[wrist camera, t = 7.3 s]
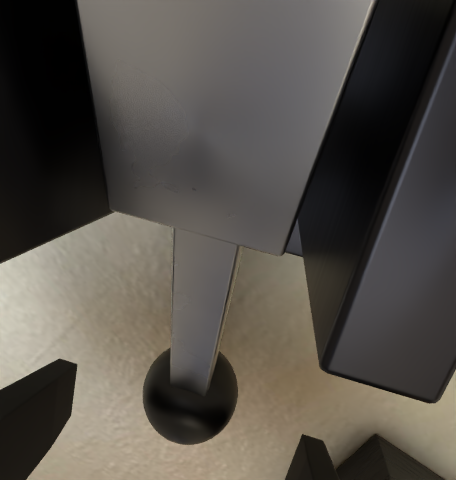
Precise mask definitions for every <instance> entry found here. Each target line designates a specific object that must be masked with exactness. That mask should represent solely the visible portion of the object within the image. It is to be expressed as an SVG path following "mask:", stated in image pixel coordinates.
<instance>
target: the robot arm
mask: <svg viewBox="0 0 456 480" xmlns="http://www.w3.org/2000/svg"><path fill="white" fill-rule="evenodd" d="M76 371H77V364H75V363H72V362H69V361H66V360H62V359H58V360H56V361H54V362H52V363H50V364H48V365H46V366H44V367H43V368H41V369H39V370H37V371H35V372H33V373H31V374H29V375H28V376H26V377H24V378H22V379H20V380H18V381H16V382H15V383H13V384H11V385H9V386H7V387H5V388H3V389H1V390H0V480H26V479H27V478H28V476H29V475H30V474H31V473H32V471H33V470H34V469H35V467H36V466H37V465H38V464H39V462H40V461H41V460H42V458H43V457H44V456H45V455H46V453H47V452H48V451H49V449H50V448H51V447H52V445H53V444H54V442H55V440H56V439H57V437H58V436H59V434H60V433H61V431H62V429H63V428H64V426H65V424H66V423H67V421H68V419H69V418H70V416H71V412H72V404H73V396H74V388H75V380H76ZM285 480H340V479H339V477H338V475H337V472H336V470H335V468H334V465H333V463H332V461H331V458H330V456H329V454H328V451H327V449H326V446H325V444H324V442H323V441H322V440H319V439H316V438H313V437H310V436H306V435H303V434H302V436H301V439H300V442H299V444H298V447H297V449H296V452H295V455H294V457H293V460H292V462H291V465H290V468H289V470H288V473H287V475H286V478H285Z"/></svg>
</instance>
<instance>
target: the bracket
mask: <svg viewBox="0 0 456 480" xmlns="http://www.w3.org/2000/svg"><path fill="white" fill-rule="evenodd" d="M114 212H115V211H112V210H111V209H110V208H109V205H108V199H107V193H106V187H105V181H104V175H103V169H102V163H101V157H100V151H99V145H98V139H97V133H96V127H95V121H94V115H93V109H92V103H91V97H90V91H89V85H88V79H87V73H86V67H85V61H84V55H83V49H82V43H81V37H80V31H79V25H78V19H77V13H76V7H75V1H74V0H0V264H1V263H3V262H5V261H7V260H10V259H12V258H14V257H16V256H19V255H21V254H23V253H25V252H27V251H30V250H32V249H34V248H36V247H38V246H41V245H43V244H45V243H47V242H50V241H52V240H54V239H56V238H58V237H61V236H63V235H65V234H67V233H69V232H72V231H74V230H76V229H78V228H80V227H83V226H85V225H87V224H89V223H92V222H94V221H96V220H98V219H100V218H103V217H105V216H107V215H109V214H111V213H114ZM285 253H289V254H293V255H296V256H300V257H303V260H304V266H305V273H306V280H307V286H308V293H309V300H310V307H311V313H312V320H313V327H314V333H315V340H316V347H317V354H318V360H319V367H320V368H321V369H322V370H323V371H325V372H326V373H328V374H332V375H335V376H338V377H342V378H345V379H348V380H352V381H355V382H359V383H362V384H365V385H369V386H372V387H375V388H379V389H382V390H386V391H389V392H392V393H396V394H399V395H402V396H406V397H409V398H412V399H416V400H419V401H423V402H426V403H436V402H438V401H439V400H440V399H441V397H442V395H443V393H444V391H445V389H446V387H447V385H448V383H449V381H450V379H451V377H452V376H453V374H454V372H455V370H456V0H380V1H379V4H378V6H377V9H376V12H375V14H374V17H373V20H372V22H371V25H370V28H369V30H368V33H367V35H366V38H365V41H364V43H363V46H362V49H361V51H360V54H359V57H358V59H357V62H356V65H355V67H354V70H353V73H352V75H351V78H350V81H349V83H348V86H347V89H346V91H345V94H344V97H343V99H342V102H341V105H340V107H339V110H338V113H337V115H336V118H335V120H334V123H333V126H332V128H331V131H330V134H329V136H328V139H327V142H326V144H325V147H324V150H323V152H322V155H321V158H320V160H319V163H318V166H317V168H316V171H315V174H314V176H313V179H312V182H311V184H310V187H309V190H308V192H307V195H306V198H305V200H304V203H303V205H302V208H301V211H300V213H299V216H298V219H297V221H296V224H295V227H294V229H293V232H292V235H291V237H290V240H289V243H288V245H287V248H286V251H285Z"/></svg>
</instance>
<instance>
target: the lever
mask: <svg viewBox="0 0 456 480" xmlns="http://www.w3.org/2000/svg"><path fill="white" fill-rule="evenodd" d="M74 1H75V7H76V13H77V19H78V25H79V31H80V37H81V43H82V49H83V55H84V61H85V67H86V73H87V79H88V85H89V91H90V97H91V103H92V109H93V115H94V121H95V127H96V133H97V139H98V145H99V151H100V157H101V163H102V169H103V175H104V181H105V187H106V193H107V199H108V205H109V208H110V209H111V210H112V211H115V212H119V213H123V214H126V215H130V216H134V217H137V218H141V219H145V220H148V221H152V222H156V223H159V224H163V225H167V226H170V227H172V278H171V348H169V349H167V350H166V351H164V352H163V353H162V354H161V355H160V356H159V357H158V358H157V359H156V360H155V361H154V362H153V364H152V365H151V367H150V369H149V371H148V373H147V375H146V378H145V382H144V386H143V404H144V409H145V412H146V415H147V418H148V420H149V422H150V423H151V425H152V426H153V427H154V429H155V430H156V431H157V432H158V433H159V434H160V435H162V436H163V437H164V438H166V439H167V440H169V441H172V442H175V443H178V444H183V445H193V444H199V443H202V442H205V441H207V440H209V439H211V438H213V437H214V436H216V435H217V434H219V433H220V432H221V431H222V430H223V429H224V428H225V426H226V425H227V424H228V422H229V421H230V419H231V417H232V415H233V413H234V411H235V407H236V403H237V398H238V386H237V379H236V375H235V373H234V370H233V368H232V366H231V364H230V363H229V361H228V360H227V359H226V357H225V356H224V355H223V354H222V353H221V352H219V348H220V344H221V340H222V336H223V331H224V327H225V323H226V319H227V315H228V310H229V306H230V302H231V298H232V294H233V290H234V285H235V281H236V277H237V273H238V269H239V265H240V260H241V256H242V252H243V248H244V247H247V248H250V249H254V250H258V251H261V252H265V253H269V254H272V255H276V256H282V255H283V254H284V253H285V251H286V248H287V245H288V243H289V240H290V237H291V235H292V232H293V229H294V227H295V224H296V221H297V219H298V216H299V213H300V211H301V208H302V205H303V203H304V200H305V198H306V195H307V192H308V190H309V187H310V184H311V182H312V179H313V176H314V174H315V171H316V168H317V166H318V163H319V160H320V158H321V155H322V152H323V150H324V147H325V144H326V142H327V139H328V136H329V134H330V131H331V128H332V126H333V123H334V120H335V118H336V115H337V113H338V110H339V107H340V105H341V102H342V99H343V97H344V94H345V91H346V89H347V86H348V83H349V81H350V78H351V75H352V73H353V70H354V67H355V65H356V62H357V59H358V57H359V54H360V51H361V49H362V46H363V43H364V41H365V38H366V35H367V33H368V30H369V28H370V25H371V22H372V20H373V17H374V14H375V12H376V9H377V6H378V4H379V1H380V0H74Z"/></svg>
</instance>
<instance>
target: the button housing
mask: <svg viewBox="0 0 456 480" xmlns="http://www.w3.org/2000/svg"><path fill="white" fill-rule="evenodd" d="M336 472H337V475H338V477H339V479H340V480H444V479H443V478H441V477H440V476H438V475H437V474H435V473H434V472H432V471H431V470H429V469H428V468H426V467H425V466H423V465H422V464H420V463H419V462H417V461H416V460H414V459H413V458H411V457H410V456H408V455H407V454H405V453H404V452H402V451H401V450H399V449H398V448H396V447H395V446H393V445H392V444H390V443H389V442H387V441H386V440H384V439H383V438H381V437H380V436H379V435H377V434H375V435H374V436H373V437H372V438H371V439H370V440H369V441H367V442H366V443H365V444H364V445H363V446H362V447H361V448H360V449H359V450H357V451H356V452H355V453H354V454H353V455H352V456H351V457H350V458H349V459H347V460H346V461H345V462H344V463H343V464H342V465H341V466H340V467H339V468H338V469H336Z"/></svg>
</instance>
